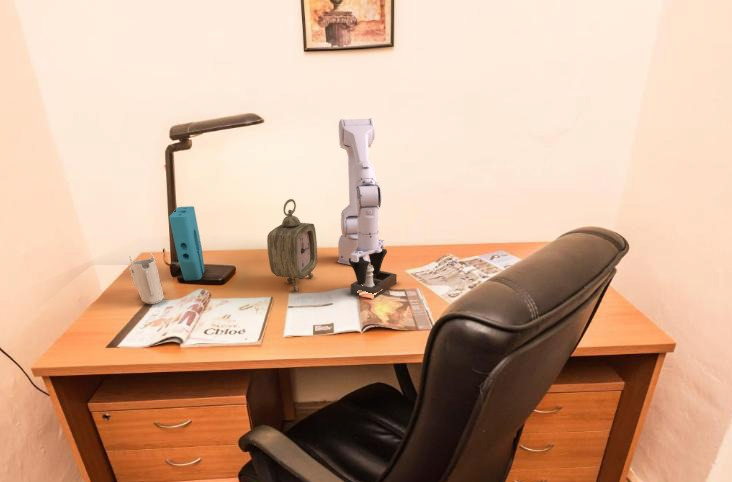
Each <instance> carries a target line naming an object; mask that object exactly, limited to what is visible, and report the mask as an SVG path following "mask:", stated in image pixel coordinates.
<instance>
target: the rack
mask: <svg viewBox="0 0 732 482" xmlns="http://www.w3.org/2000/svg"><path fill="white" fill-rule="evenodd" d="M397 276H398V275H397V273H393V272H389V271H385V270H380V272H379V275H375V274H373V283H374V285H375V286H373V287H372V288H371V287H367V286H362V285H361V283H358V282H357V280H356V281H354V282H352V283H351V284H350V295H351V296H352V295H353V296H355V297H356V296H357V297H360V296H359V293H357V291H358V290H362V291H366V292H368V293H372V294H374V293H376V292H378V291H380V290H381V289H383V290H382V291H380V292H379V293H377V294H376V295H374V297H375V299H376V298H378V297H379V296H380V295H382V294H383V293H384V292H387V291H388V290H390V289H391V288H392V287H393V286H395V285H396V284H397Z"/></svg>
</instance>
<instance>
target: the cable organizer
mask: <svg viewBox="0 0 732 482" xmlns="http://www.w3.org/2000/svg"><path fill="white" fill-rule="evenodd" d="M149 254H150V255H149V256H150V258H145V259H139V260H133V259H132V257H131V255H129V256H128V258H129V261H130V266H128V269H129V272H130V276H131V280H132V282H133V286H134V288H136V289H137V291H138V294H139V297H140V299H141V301H142V302H143V303H144V304H146V305H155V304H159V303H161V302H162V301H163V299H164V297H165V296H164V292H163V291H164V290H163V287H162V283H161V280H160V274H159V270H158V266H157V261H156V257H154V255H153V253H152V252H150V253H149Z"/></svg>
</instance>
